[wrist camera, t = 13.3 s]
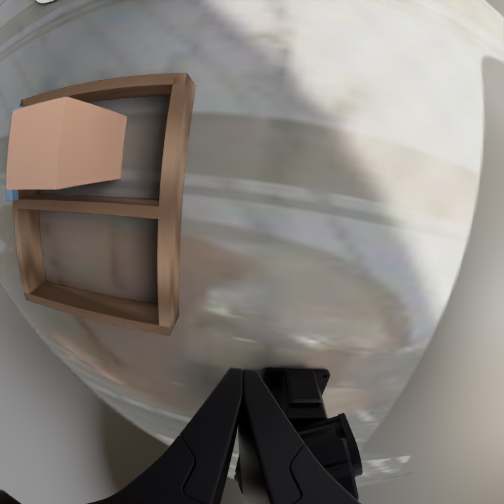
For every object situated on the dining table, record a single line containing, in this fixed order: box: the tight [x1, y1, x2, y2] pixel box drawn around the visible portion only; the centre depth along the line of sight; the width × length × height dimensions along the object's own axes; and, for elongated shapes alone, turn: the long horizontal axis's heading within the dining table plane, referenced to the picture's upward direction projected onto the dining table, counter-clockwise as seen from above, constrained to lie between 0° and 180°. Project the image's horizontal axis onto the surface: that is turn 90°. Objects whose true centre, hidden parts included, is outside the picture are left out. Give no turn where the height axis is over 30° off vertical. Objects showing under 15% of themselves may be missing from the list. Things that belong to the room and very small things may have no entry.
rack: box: [6, 73, 196, 336], centre depth 17 cm, size 18×16×4 cm
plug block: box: [6, 97, 127, 190], centre depth 14 cm, size 5×5×8 cm
